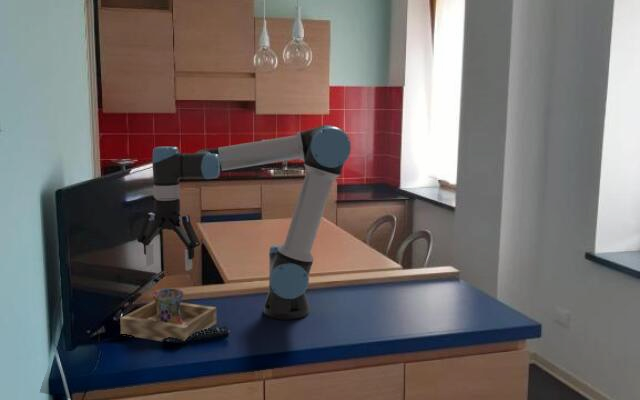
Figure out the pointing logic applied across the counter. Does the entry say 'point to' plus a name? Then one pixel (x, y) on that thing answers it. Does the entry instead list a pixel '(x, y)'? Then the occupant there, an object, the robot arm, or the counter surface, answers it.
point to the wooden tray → (148, 328)
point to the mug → (168, 305)
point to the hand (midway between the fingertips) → (169, 267)
